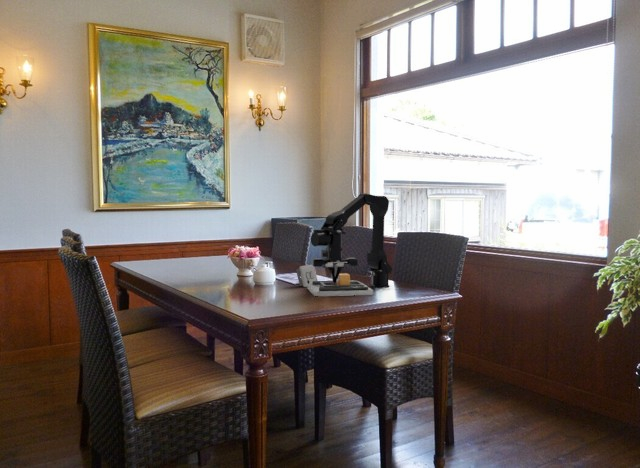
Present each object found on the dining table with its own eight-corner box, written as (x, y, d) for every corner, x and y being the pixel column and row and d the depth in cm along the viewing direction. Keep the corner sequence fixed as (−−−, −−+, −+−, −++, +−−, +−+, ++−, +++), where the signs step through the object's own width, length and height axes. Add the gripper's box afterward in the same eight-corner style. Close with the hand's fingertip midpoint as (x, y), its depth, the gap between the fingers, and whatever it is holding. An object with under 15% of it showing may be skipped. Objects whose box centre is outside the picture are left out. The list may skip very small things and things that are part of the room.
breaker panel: (361, 287, 245) (362, 279, 245) (373, 294, 228) (373, 286, 227) (307, 288, 241) (307, 280, 241) (314, 296, 223) (314, 287, 223)
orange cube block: (347, 285, 237) (347, 273, 237) (349, 287, 232) (350, 275, 232) (337, 285, 236) (338, 273, 236) (340, 287, 232) (340, 275, 231)
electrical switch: (305, 287, 244) (303, 266, 244) (296, 287, 247) (294, 266, 247) (318, 285, 251) (317, 264, 251) (309, 284, 254) (308, 264, 254)
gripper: (352, 243, 242) (351, 279, 243) (309, 243, 239) (309, 280, 240) (358, 245, 231) (358, 283, 232) (313, 246, 228) (313, 284, 229)
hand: (334, 282), depth 234 cm, fingers closed
